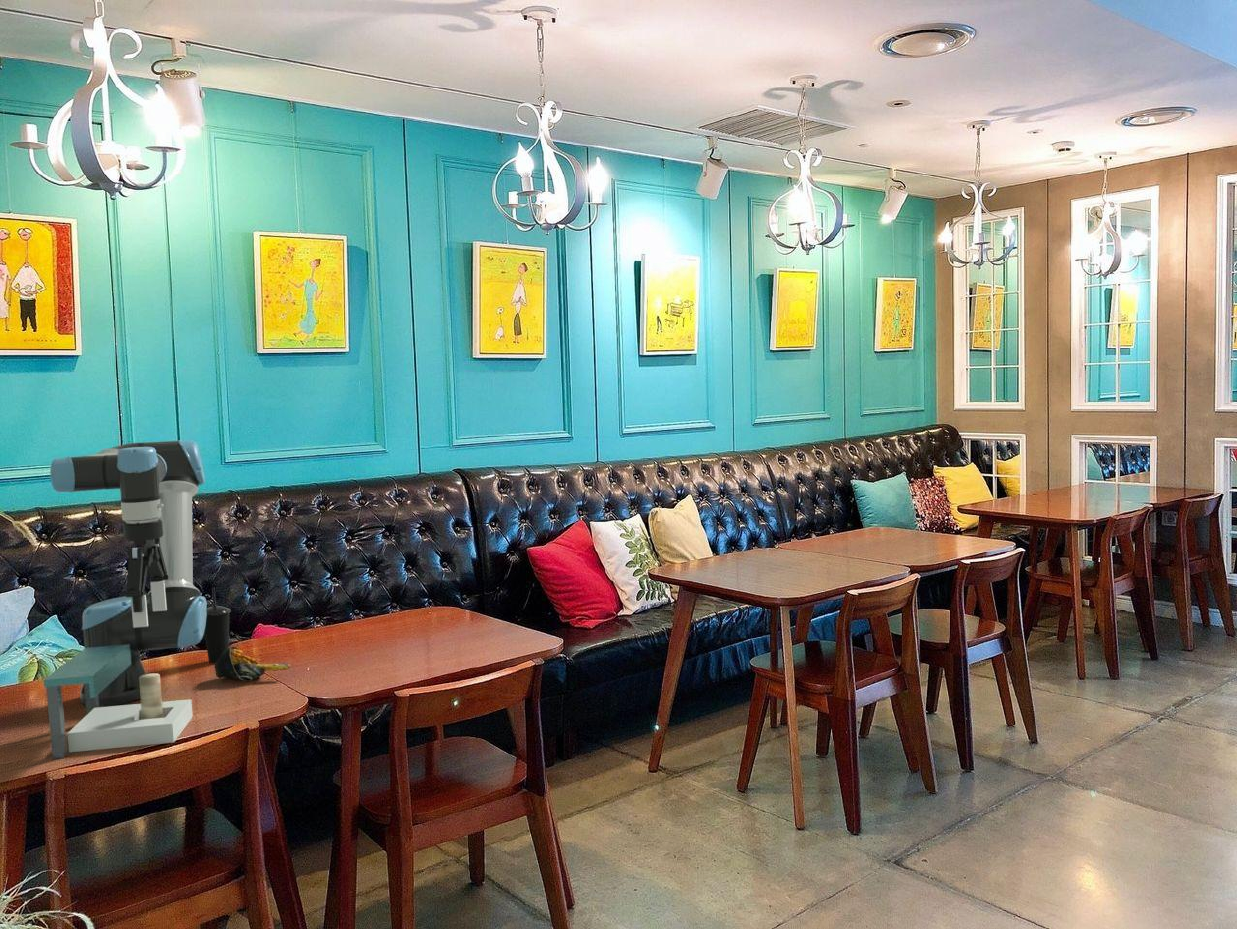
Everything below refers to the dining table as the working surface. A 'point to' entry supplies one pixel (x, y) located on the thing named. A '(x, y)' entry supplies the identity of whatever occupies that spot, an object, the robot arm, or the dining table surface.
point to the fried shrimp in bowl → (242, 666)
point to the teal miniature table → (88, 669)
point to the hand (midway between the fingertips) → (150, 618)
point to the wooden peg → (151, 696)
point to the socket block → (129, 726)
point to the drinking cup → (216, 630)
